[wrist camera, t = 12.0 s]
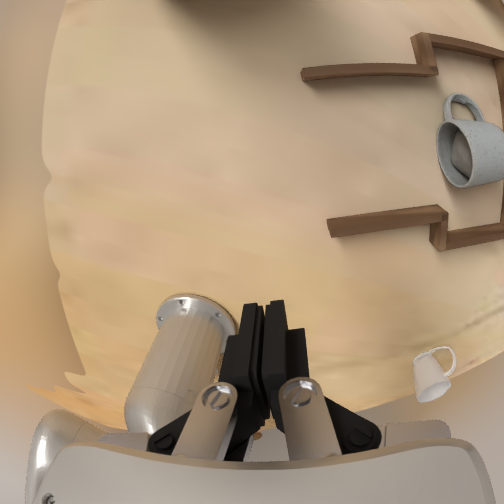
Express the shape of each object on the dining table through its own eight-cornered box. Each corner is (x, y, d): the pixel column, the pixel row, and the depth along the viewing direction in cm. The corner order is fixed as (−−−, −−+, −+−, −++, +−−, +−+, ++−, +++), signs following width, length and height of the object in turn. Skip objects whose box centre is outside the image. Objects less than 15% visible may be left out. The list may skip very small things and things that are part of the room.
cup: (398, 367, 43) (408, 401, 36) (435, 331, 38) (451, 365, 31) (420, 373, 44) (430, 405, 37) (454, 340, 39) (470, 371, 32)
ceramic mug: (483, 172, 26) (518, 189, 19) (438, 179, 27) (472, 197, 21) (473, 94, 21) (511, 95, 14) (425, 93, 23) (461, 91, 16)
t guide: (503, 228, 28) (513, 236, 26) (330, 256, 34) (334, 268, 31) (495, 54, 17) (508, 52, 14) (292, 40, 22) (293, 32, 20)
